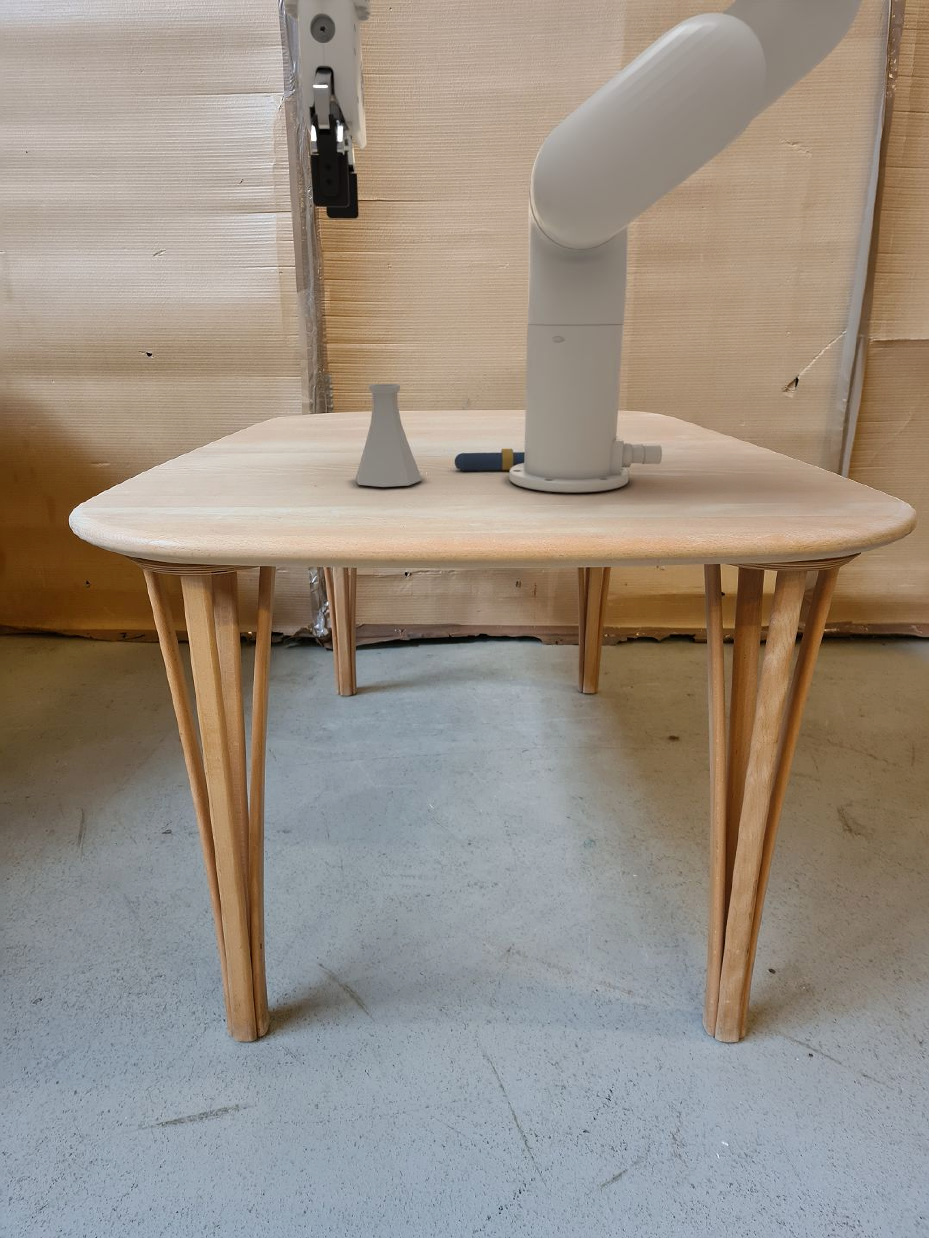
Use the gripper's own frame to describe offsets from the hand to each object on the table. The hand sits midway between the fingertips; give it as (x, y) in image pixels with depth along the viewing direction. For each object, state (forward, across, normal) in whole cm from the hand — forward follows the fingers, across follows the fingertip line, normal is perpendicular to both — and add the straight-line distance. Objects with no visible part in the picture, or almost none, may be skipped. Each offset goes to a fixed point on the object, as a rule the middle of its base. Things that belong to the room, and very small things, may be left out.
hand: (337, 212), depth 73 cm
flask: (+26, -2, -4) cm, 26 cm away
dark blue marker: (+26, +4, -18) cm, 31 cm away
